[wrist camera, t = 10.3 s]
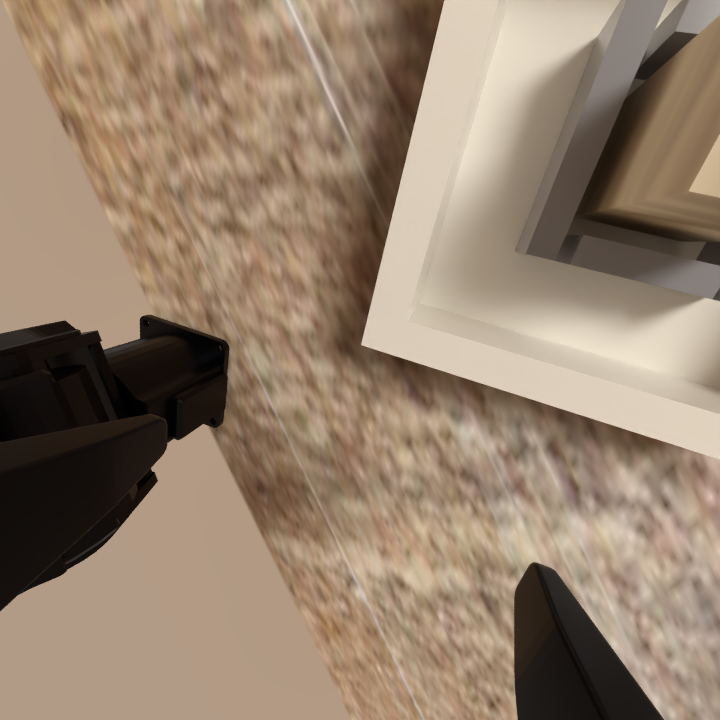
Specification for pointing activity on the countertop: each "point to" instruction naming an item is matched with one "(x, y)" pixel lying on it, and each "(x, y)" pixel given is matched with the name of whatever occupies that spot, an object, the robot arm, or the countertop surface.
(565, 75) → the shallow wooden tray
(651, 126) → the wooden block
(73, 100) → the countertop surface
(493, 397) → the countertop surface
